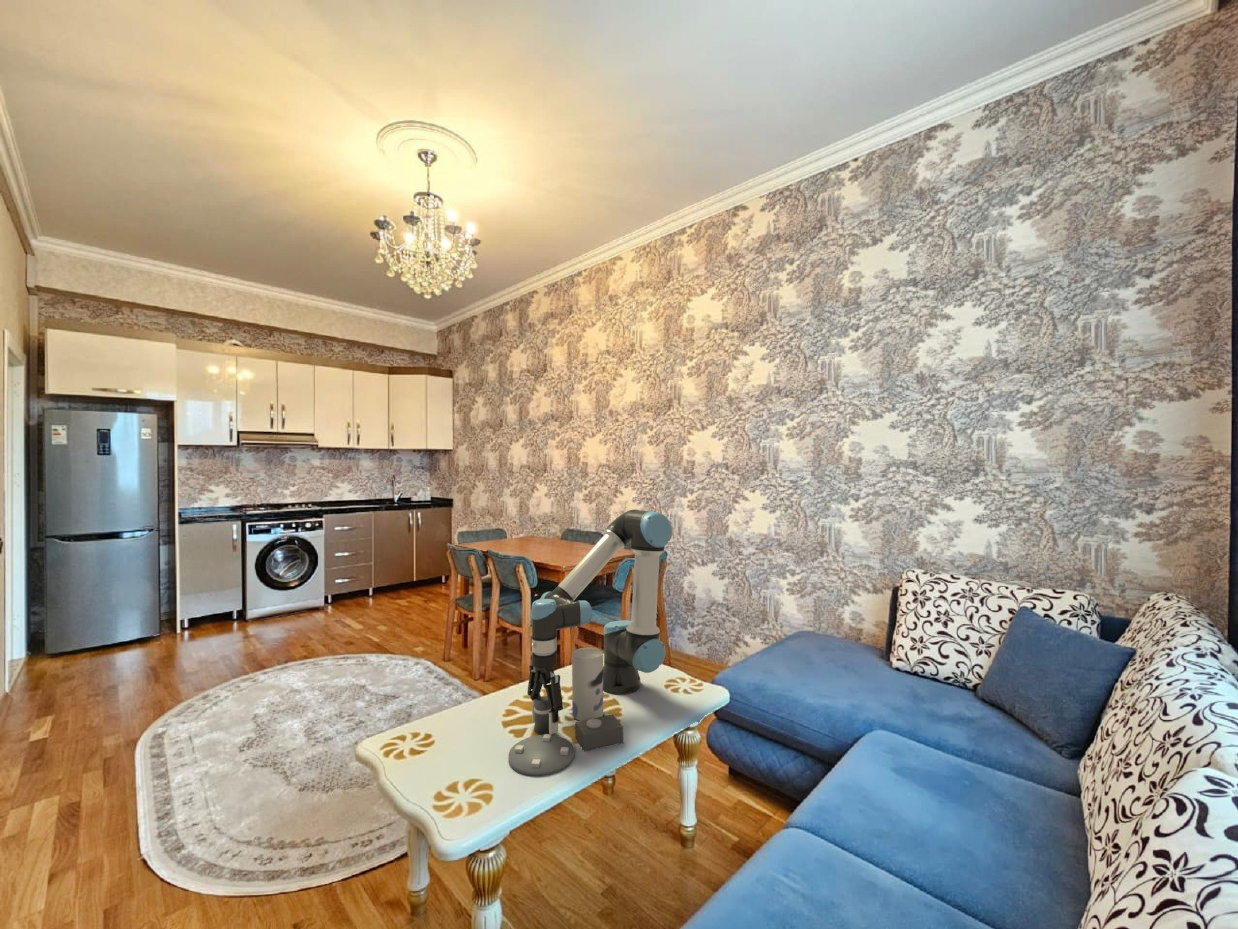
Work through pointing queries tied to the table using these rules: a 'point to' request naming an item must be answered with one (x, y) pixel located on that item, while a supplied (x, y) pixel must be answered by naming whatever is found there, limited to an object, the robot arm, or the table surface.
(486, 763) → the table surface
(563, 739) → the plate
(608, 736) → the camera body block
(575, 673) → the container
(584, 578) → the robot arm
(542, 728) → the grey rounded cylinder
